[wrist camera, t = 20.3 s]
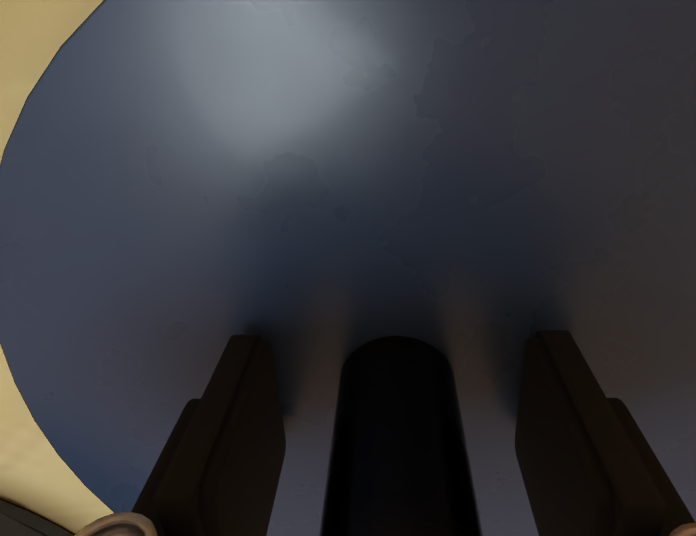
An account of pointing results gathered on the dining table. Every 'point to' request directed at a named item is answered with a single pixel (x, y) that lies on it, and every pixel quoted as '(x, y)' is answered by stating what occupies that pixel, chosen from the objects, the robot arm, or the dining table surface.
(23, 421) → the dining table surface
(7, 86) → the dining table surface
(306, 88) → the lid
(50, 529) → the pot
